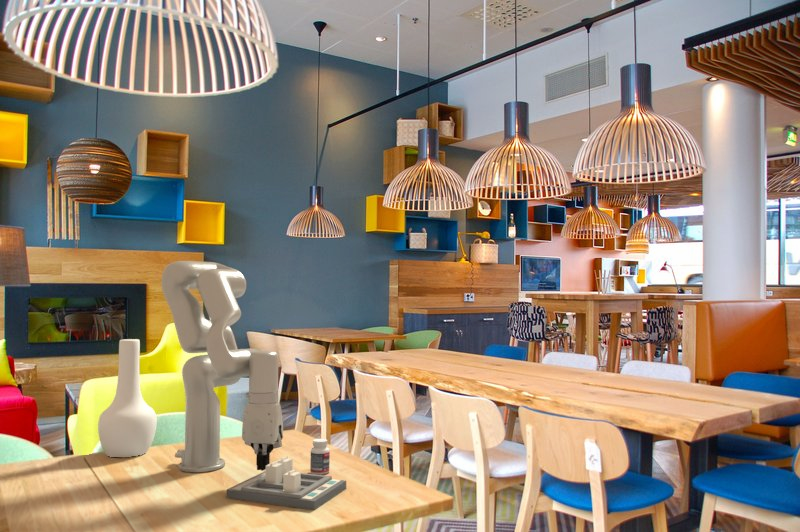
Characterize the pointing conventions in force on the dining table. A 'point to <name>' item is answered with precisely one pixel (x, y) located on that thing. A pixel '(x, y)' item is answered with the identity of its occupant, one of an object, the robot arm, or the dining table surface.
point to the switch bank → (310, 496)
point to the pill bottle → (320, 457)
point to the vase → (127, 409)
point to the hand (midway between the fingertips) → (262, 468)
